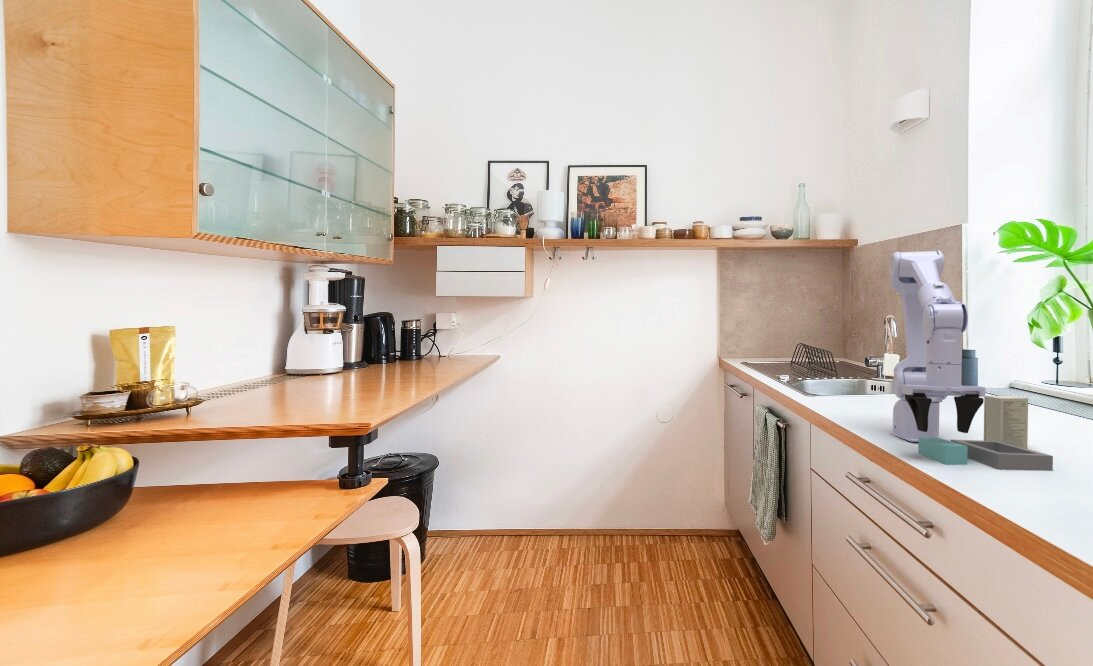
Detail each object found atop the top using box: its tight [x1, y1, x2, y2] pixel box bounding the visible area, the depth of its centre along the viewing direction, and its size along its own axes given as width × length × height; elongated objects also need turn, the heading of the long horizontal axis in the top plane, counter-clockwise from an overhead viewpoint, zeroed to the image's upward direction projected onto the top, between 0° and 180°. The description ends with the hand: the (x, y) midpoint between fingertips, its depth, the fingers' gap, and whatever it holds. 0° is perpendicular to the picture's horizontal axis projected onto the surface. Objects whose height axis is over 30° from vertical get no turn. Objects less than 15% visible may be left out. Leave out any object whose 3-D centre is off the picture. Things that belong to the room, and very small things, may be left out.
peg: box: [917, 437, 968, 466], centre depth 108 cm, size 8×4×4 cm, turn 179°
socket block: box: [949, 439, 1054, 472], centre depth 107 cm, size 14×10×3 cm
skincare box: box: [983, 394, 1029, 449], centre depth 116 cm, size 6×4×12 cm
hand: (942, 431), depth 108 cm, fingers open, 7 cm apart
